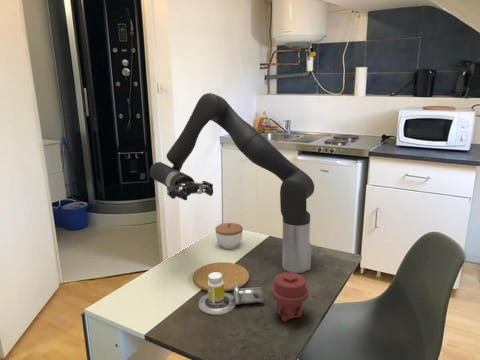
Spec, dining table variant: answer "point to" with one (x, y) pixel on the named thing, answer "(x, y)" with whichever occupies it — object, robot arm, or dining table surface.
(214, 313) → the flange fitting
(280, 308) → the mechanical component
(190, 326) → the dining table surface
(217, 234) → the lidded jar
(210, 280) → the supplement bottle
